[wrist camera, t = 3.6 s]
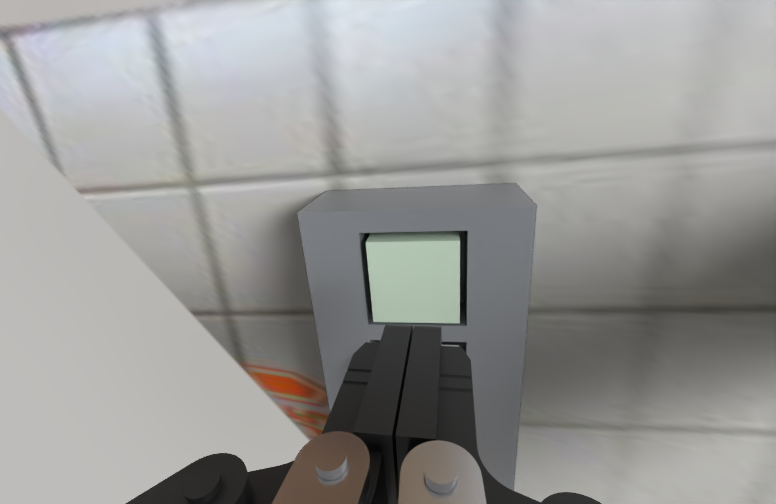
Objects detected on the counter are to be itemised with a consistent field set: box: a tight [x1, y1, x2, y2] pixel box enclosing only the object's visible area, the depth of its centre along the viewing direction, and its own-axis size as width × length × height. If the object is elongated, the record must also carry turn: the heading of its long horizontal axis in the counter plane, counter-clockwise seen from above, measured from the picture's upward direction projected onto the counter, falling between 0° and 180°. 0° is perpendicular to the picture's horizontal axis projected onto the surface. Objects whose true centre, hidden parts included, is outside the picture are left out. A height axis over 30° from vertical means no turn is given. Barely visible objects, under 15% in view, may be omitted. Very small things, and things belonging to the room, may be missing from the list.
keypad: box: [297, 183, 537, 491], centre depth 18 cm, size 9×16×4 cm, turn 4°
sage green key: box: [366, 231, 460, 323], centre depth 15 cm, size 4×4×2 cm
